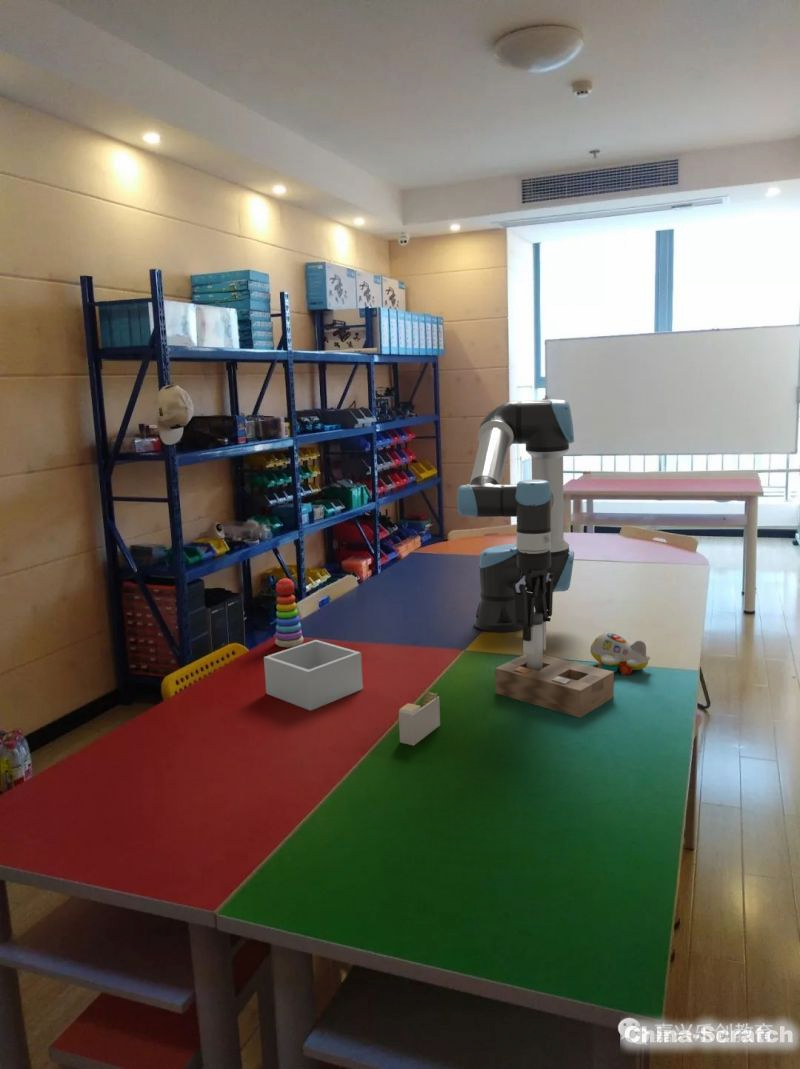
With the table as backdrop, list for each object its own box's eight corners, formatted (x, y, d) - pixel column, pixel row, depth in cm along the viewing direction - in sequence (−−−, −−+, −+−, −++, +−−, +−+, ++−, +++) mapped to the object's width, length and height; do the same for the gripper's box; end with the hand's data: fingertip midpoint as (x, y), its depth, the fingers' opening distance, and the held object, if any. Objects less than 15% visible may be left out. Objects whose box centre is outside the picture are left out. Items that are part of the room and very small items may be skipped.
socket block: (495, 693, 180) (495, 666, 179) (530, 675, 190) (530, 650, 188) (580, 717, 165) (580, 689, 164) (613, 697, 175) (613, 670, 173)
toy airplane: (634, 649, 181) (578, 633, 191) (631, 685, 183) (576, 667, 193) (662, 636, 190) (607, 621, 200) (659, 670, 192) (604, 653, 202)
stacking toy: (309, 640, 223) (305, 576, 219) (293, 649, 216) (289, 583, 212) (285, 638, 226) (281, 574, 223) (269, 646, 219) (265, 581, 216)
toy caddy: (266, 693, 185) (263, 657, 183) (318, 674, 196) (316, 639, 195) (310, 710, 174) (308, 671, 172) (362, 689, 185) (360, 652, 184)
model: (400, 744, 157) (398, 708, 155) (426, 724, 166) (425, 689, 164) (413, 747, 155) (412, 710, 154) (440, 727, 164) (439, 692, 163)
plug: (523, 673, 180) (522, 614, 177) (532, 669, 182) (532, 610, 180) (537, 677, 177) (536, 617, 175) (546, 672, 180) (546, 613, 177)
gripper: (526, 558, 166) (527, 664, 170) (568, 545, 178) (568, 645, 182) (497, 554, 171) (499, 657, 175) (540, 542, 183) (541, 639, 187)
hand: (534, 651), depth 179 cm, fingers closed on plug, 3 cm apart
